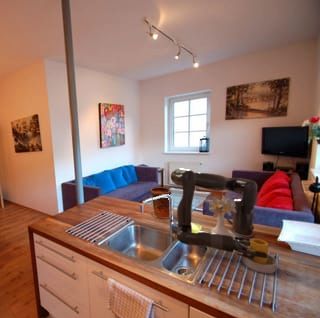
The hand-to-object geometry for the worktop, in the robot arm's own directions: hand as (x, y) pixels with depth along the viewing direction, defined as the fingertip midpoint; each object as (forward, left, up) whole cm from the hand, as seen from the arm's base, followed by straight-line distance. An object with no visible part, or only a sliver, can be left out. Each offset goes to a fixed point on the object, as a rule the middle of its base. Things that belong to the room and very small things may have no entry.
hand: (264, 250), depth 91 cm
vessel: (-57, -31, -8) cm, 65 cm away
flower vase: (-22, -7, -8) cm, 24 cm away
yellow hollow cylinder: (-1, -2, -7) cm, 7 cm away
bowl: (-1, -2, -8) cm, 8 cm away
